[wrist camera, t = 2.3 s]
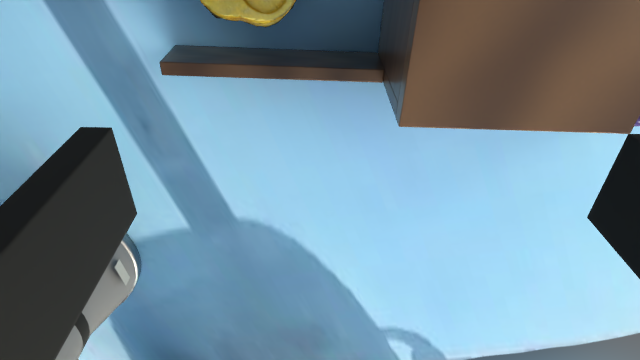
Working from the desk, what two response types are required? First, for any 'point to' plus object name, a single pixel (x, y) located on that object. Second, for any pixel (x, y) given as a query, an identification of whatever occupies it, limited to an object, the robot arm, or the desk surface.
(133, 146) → the desk surface
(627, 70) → the wood block with slats
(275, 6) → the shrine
